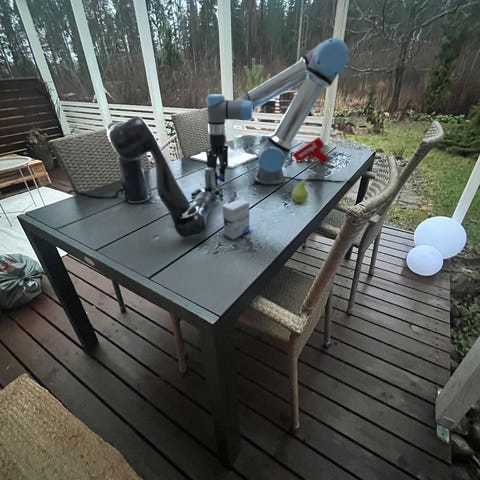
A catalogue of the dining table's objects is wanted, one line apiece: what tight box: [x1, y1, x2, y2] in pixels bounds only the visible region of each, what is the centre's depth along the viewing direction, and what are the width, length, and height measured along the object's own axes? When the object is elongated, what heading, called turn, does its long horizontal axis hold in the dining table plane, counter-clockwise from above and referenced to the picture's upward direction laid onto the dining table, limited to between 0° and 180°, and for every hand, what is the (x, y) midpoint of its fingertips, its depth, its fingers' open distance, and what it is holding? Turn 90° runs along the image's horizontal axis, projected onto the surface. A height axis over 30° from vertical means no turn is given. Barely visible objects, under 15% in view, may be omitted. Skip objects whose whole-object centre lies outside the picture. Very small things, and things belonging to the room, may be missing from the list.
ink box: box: [222, 198, 250, 240], centre depth 96 cm, size 8×5×12 cm, turn 134°
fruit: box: [291, 174, 311, 204], centre depth 118 cm, size 7×8×12 cm
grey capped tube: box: [203, 167, 218, 206], centre depth 117 cm, size 4×4×16 cm
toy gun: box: [293, 136, 329, 165], centre depth 169 cm, size 18×4×15 cm
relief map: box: [190, 144, 259, 169], centre depth 178 cm, size 27×35×5 cm
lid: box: [217, 172, 223, 181], centre depth 132 cm, size 5×5×2 cm
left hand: (212, 188), depth 120 cm, fingers closed on grey capped tube, 4 cm apart
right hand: (218, 183), depth 134 cm, fingers closed on lid, 5 cm apart
